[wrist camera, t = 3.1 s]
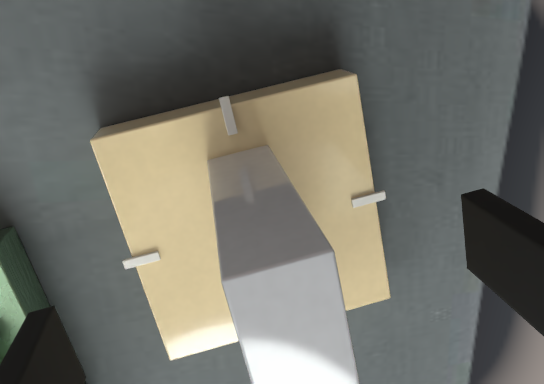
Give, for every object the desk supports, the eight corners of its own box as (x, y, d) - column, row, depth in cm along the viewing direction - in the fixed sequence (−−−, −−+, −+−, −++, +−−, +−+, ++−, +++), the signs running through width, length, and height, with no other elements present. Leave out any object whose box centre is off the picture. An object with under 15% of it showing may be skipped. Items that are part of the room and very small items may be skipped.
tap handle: (206, 159, 18) (220, 286, 10) (268, 144, 18) (337, 254, 10) (246, 304, 21) (287, 511, 12) (301, 289, 21) (381, 481, 12)
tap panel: (348, 57, 20) (366, 61, 18) (383, 280, 24) (401, 305, 22) (86, 121, 19) (74, 134, 17) (166, 342, 23) (164, 372, 21)
